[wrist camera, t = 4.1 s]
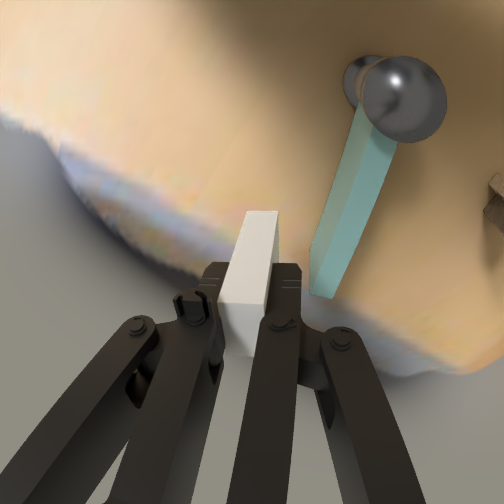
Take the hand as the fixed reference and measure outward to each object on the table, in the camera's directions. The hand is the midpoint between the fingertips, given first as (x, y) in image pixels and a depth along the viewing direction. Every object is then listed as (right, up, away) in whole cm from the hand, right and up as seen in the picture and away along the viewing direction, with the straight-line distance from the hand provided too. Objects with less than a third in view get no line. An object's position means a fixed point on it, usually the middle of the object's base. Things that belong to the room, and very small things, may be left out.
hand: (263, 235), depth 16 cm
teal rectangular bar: (+6, +5, +4) cm, 9 cm away
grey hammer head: (+7, +10, +1) cm, 12 cm away
